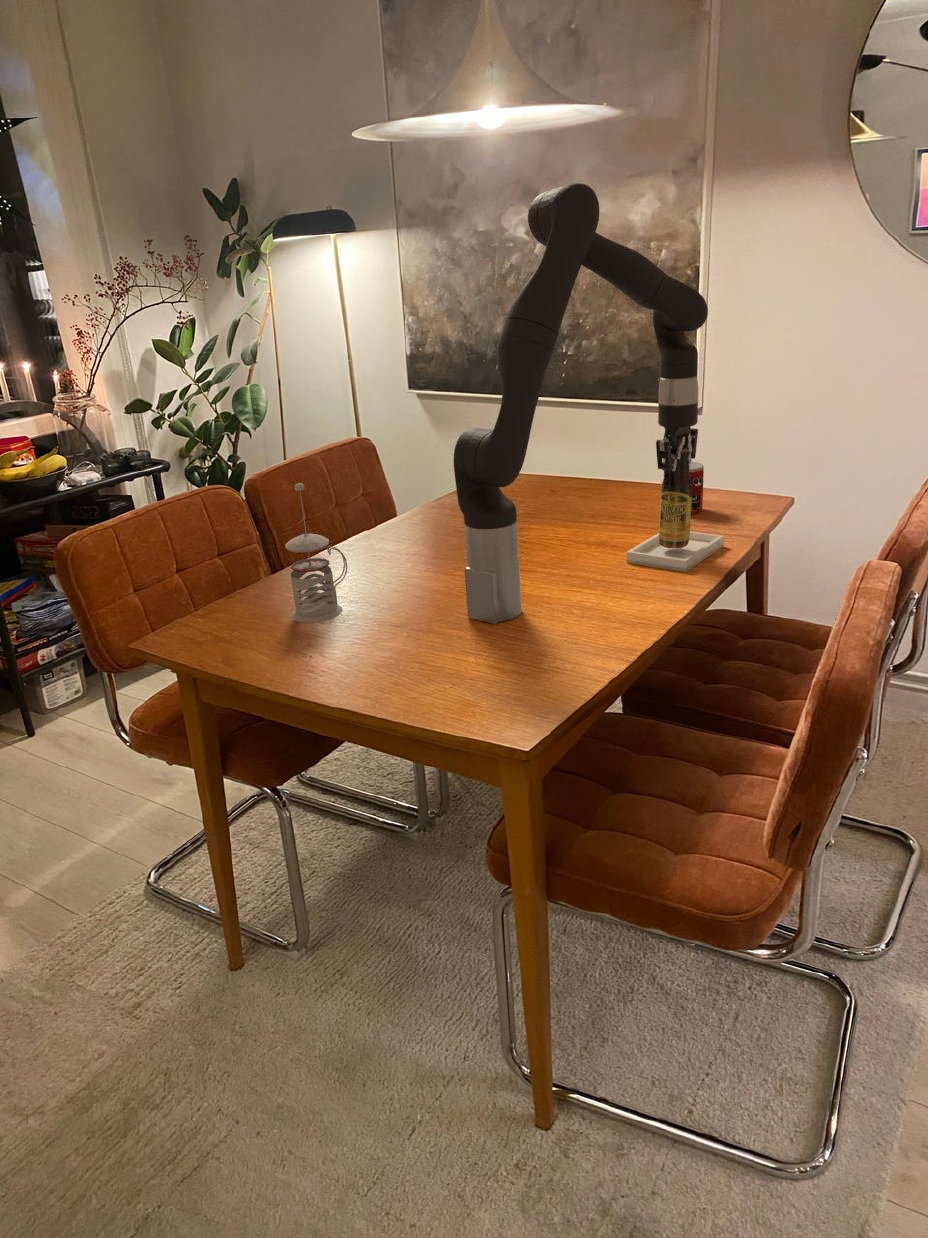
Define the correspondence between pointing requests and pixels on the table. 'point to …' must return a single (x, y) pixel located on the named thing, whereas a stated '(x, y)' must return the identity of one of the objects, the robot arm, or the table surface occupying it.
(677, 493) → the sauce bottle
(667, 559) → the white tray
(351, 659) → the table surface
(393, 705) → the table surface
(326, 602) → the french press
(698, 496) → the canned food
